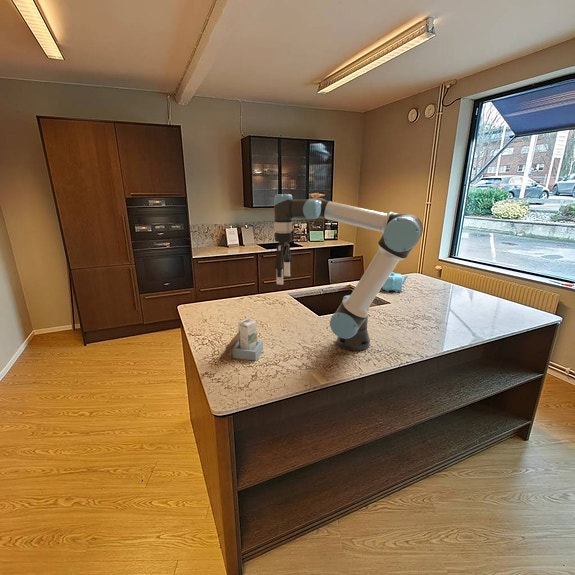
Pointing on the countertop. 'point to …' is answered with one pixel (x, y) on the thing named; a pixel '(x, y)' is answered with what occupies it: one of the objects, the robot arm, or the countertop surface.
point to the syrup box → (247, 334)
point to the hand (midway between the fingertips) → (283, 280)
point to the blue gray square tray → (247, 352)
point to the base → (230, 348)
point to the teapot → (394, 282)
